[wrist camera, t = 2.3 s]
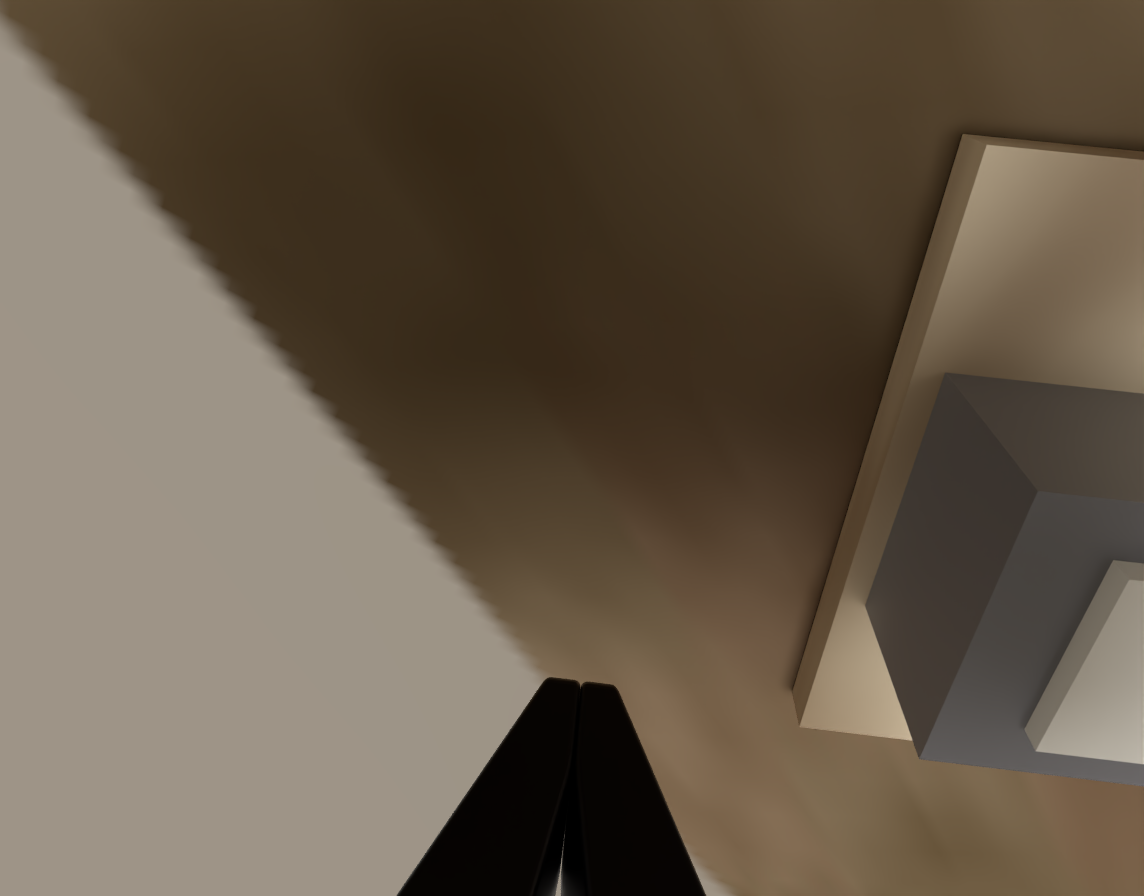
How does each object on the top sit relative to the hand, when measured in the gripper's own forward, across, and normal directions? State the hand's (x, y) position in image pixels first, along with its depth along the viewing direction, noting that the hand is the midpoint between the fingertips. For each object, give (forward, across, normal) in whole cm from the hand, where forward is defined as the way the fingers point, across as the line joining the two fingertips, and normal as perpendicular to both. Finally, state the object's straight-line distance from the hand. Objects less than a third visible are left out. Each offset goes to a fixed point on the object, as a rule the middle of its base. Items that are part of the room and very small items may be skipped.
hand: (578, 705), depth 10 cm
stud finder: (+6, -9, 0) cm, 11 cm away
